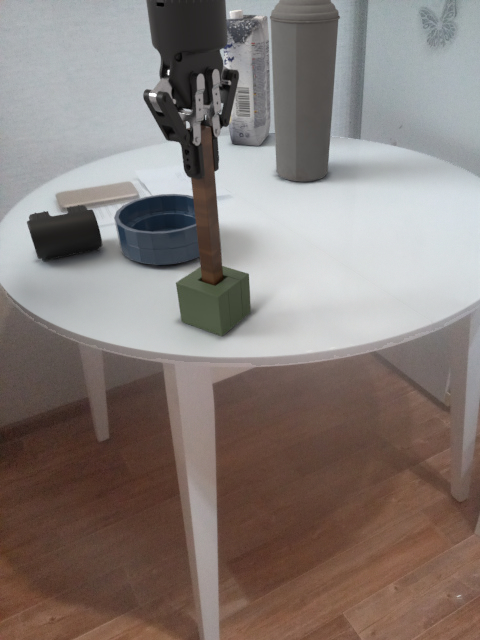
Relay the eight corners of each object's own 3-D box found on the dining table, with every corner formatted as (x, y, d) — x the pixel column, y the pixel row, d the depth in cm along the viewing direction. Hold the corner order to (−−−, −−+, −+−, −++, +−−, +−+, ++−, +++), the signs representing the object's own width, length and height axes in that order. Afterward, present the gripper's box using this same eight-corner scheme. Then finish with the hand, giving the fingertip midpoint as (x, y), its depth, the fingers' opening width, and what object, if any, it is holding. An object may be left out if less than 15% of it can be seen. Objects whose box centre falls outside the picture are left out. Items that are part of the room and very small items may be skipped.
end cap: (41, 269, 87) (28, 228, 83) (35, 250, 92) (23, 211, 88) (105, 255, 90) (96, 216, 86) (96, 238, 95) (87, 200, 91)
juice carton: (273, 135, 141) (270, 7, 123) (262, 148, 133) (258, 13, 116) (239, 133, 142) (232, 6, 125) (226, 145, 134) (217, 12, 117)
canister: (260, 177, 118) (254, -28, 95) (293, 160, 126) (294, -32, 104) (312, 189, 112) (318, -25, 90) (342, 170, 120) (355, -30, 98)
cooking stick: (216, 306, 74) (200, 131, 60) (204, 302, 74) (185, 128, 60) (225, 299, 75) (211, 126, 61) (213, 295, 76) (196, 124, 62)
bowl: (174, 278, 85) (169, 241, 81) (101, 254, 91) (93, 219, 87) (233, 239, 95) (231, 205, 91) (164, 220, 101) (159, 187, 97)
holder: (222, 336, 73) (218, 296, 69) (181, 321, 75) (175, 282, 72) (251, 312, 77) (249, 273, 73) (211, 299, 80) (207, 261, 76)
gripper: (199, -17, 59) (212, 152, 70) (103, -5, 50) (136, 187, 61) (258, -14, 56) (263, 162, 67) (168, 0, 47) (190, 200, 58)
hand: (202, 173), depth 64 cm, fingers closed on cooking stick, 2 cm apart
